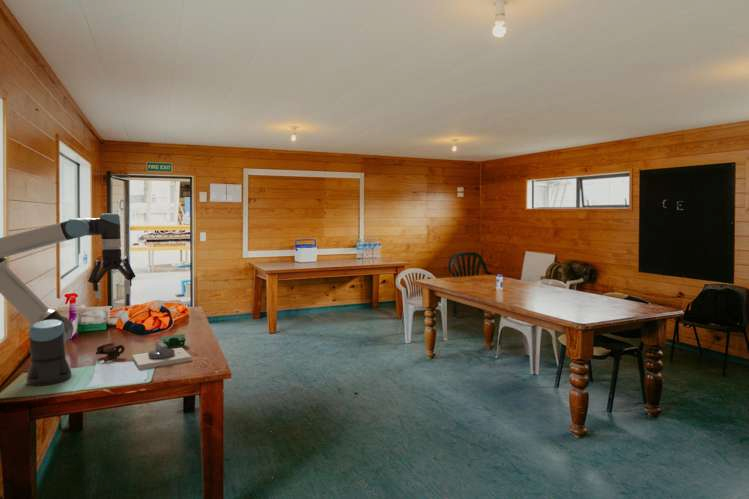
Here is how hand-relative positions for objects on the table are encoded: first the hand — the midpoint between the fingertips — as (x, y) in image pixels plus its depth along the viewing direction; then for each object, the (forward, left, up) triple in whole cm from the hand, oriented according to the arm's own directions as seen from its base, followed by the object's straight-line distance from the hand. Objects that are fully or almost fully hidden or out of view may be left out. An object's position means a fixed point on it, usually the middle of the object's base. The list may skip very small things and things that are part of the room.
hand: (113, 296), depth 214 cm
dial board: (+18, -6, -31) cm, 36 cm away
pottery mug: (-1, +10, -31) cm, 33 cm away
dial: (+18, -6, -28) cm, 34 cm away
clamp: (+27, +13, -31) cm, 43 cm away
